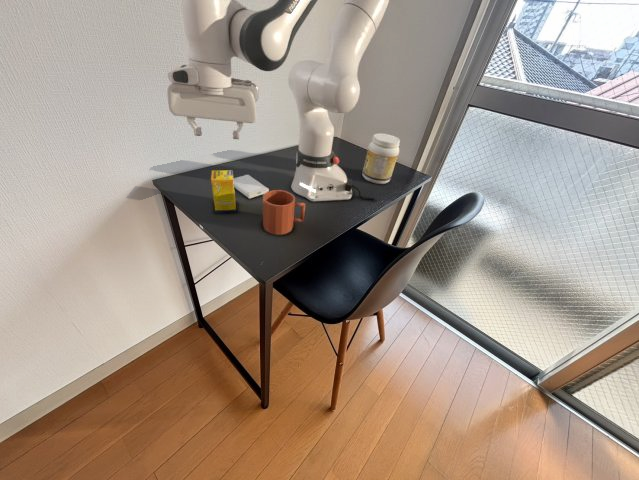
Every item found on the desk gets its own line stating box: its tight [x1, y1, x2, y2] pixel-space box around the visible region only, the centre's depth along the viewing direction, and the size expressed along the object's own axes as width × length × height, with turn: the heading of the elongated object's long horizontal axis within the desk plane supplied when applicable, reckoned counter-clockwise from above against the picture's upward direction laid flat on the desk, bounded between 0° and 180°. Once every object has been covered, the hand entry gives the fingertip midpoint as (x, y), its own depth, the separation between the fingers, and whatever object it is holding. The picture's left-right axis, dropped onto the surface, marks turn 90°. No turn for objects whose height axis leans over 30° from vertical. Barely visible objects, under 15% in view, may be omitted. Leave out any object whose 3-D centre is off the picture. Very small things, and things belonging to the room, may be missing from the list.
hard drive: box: [233, 174, 270, 199], centre depth 95 cm, size 2×8×12 cm
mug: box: [262, 189, 306, 236], centre depth 77 cm, size 12×9×10 cm
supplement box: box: [210, 169, 237, 214], centre depth 81 cm, size 6×6×11 cm
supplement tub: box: [361, 132, 401, 185], centre depth 109 cm, size 12×12×17 cm
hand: (217, 136), depth 71 cm, fingers open, 8 cm apart
